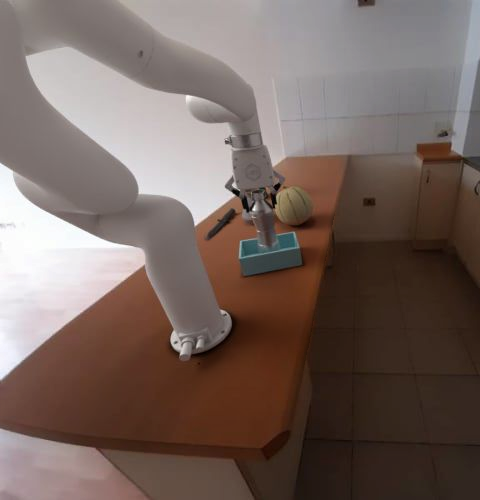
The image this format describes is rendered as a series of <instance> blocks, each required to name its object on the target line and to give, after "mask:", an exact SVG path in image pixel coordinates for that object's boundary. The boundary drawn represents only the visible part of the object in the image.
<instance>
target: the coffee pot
mask: <svg viewBox="0 0 480 500" xmlns="http://www.w3.org/2000/svg"><path fill="white" fill-rule="evenodd" d="M254 190H259V188H256V189H248V190H246V191H245V196H247V200H248V205H249V210H250V206H251V204H252V202H253V199H252V195H251V192H252V191H254ZM241 217H242V220H244V221H245V222H246V223H248V224H250V225H254V222H253V220H252V217H251V215H250V212H249V213H247V212H246V209H243V208H242V213H241Z"/></svg>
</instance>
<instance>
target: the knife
mask: <svg viewBox="0 0 480 500" xmlns="http://www.w3.org/2000/svg"><path fill="white" fill-rule="evenodd" d="M235 213H236V210H235V208H234V207H231V208H229V210H228V211H227V212H226V213H225V214H224V215H223V216H222V217H221V219H219V218H217V224H215V225H214V226H213V227H212V228H211V229H210V230H209V231H208V232H207V234H206V239H207V240H209V239H210V238H211V237H213V236H214V235H215V234H216V233H217V232H218V231H219V230H220V229H221V228H222V227H223V226H224V225H225V224H230V219H231V218H232V217H233V215H235Z"/></svg>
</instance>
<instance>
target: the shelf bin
mask: <svg viewBox="0 0 480 500" xmlns="http://www.w3.org/2000/svg"><path fill="white" fill-rule="evenodd" d="M276 235H277V238H278V240H279V243H280V250H279V251H274V252H268V253H263V254H260V253H259V250H258V239H257V237H255V238H249V239H242V240H240V241H239V252H238V262H239V265H240V269H241V272H242V275H243V277H246V276H252V275H258V274H262V273H268V272H273V271H278V270H284V269H289V268H293V267H298V266H302V265H303V259H302V254H301V253H302V252H301V247H300V244H299V241H298V237H297V234H296V231H290V232H284V233H279V234H276Z"/></svg>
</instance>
